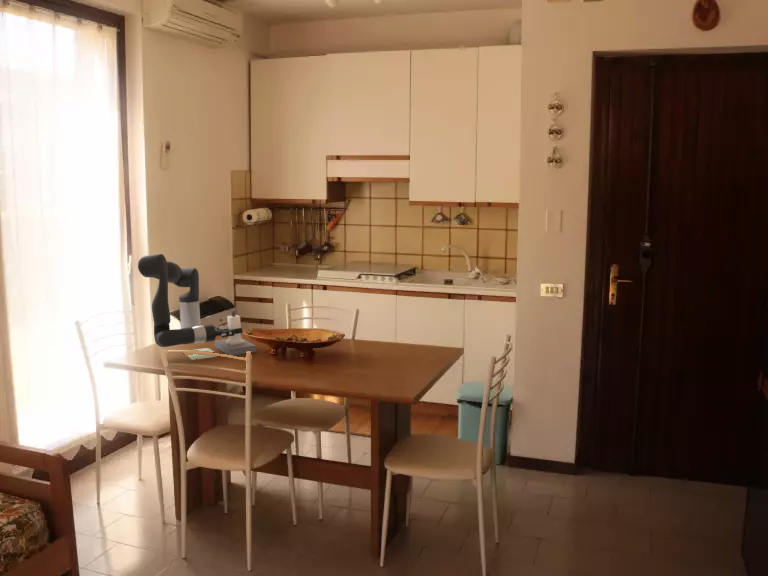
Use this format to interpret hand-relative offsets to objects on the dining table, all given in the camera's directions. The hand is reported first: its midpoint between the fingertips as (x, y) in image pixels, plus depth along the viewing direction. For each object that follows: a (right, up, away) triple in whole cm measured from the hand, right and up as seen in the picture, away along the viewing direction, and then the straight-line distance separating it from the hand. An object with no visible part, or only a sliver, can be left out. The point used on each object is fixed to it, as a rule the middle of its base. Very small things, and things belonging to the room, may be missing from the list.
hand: (239, 329), depth 346 cm
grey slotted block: (-2, -9, 0) cm, 9 cm away
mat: (-16, -11, -8) cm, 20 cm away
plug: (-2, -9, 0) cm, 9 cm away
